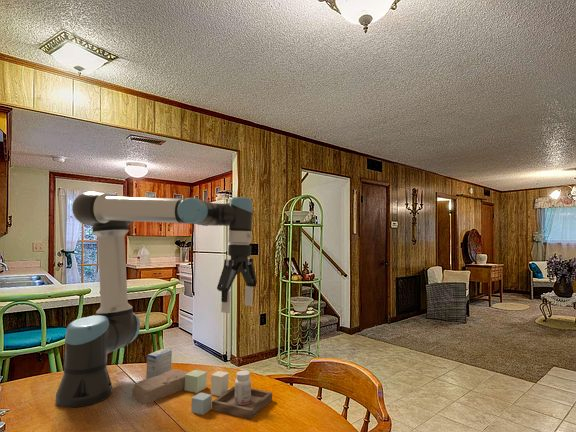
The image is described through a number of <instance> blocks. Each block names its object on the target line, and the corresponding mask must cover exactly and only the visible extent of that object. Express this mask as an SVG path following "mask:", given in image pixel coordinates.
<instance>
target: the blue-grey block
mask: <svg viewBox="0 0 576 432" xmlns="http://www.w3.org/2000/svg"><path fill="white" fill-rule="evenodd" d="M212 396H213V395H211V393H209V394H208V393H205V392H201V391H200V392H198V393H196V395H194V396H192V397H191V408H190V410H191V413H194V414H197V415H205V414H206V413H208V412H209V411H210V410H212V401H213V399H212V398H213V397H212Z"/></svg>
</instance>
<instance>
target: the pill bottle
mask: <svg viewBox="0 0 576 432" xmlns="http://www.w3.org/2000/svg"><path fill="white" fill-rule="evenodd" d="M250 373H251V372H250V371H249V370H239V371H237V372H236V376H235V378H236V379H235V381H234V386H235V403H236V404H238V405H246V404H249V403H250V401H251V388H252V380H251V378H250V377H251V374H250Z"/></svg>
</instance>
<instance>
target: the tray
mask: <svg viewBox="0 0 576 432" xmlns="http://www.w3.org/2000/svg"><path fill="white" fill-rule="evenodd" d="M272 401H273V392H271V391H267V390H262V389H259V388H253V387H251V401H250V403H249V404H246V405H238V404H236V403H235V385H234V386H232V387H231V388H229V389H228V391H227V392H225V393H224V394H222V395H221V396H217V397H216V398H215V399H214V400H213V399H212V404H211V410H212V411H216V412H220V413H224V414H228V415H233V416H237V417H241V418H244V419H248V420H252V419H254V417H256V416H257V415H258V414H259V413H261V411H262V410H264V408H266V406H268V405H269V404H270V403H271V402H272Z"/></svg>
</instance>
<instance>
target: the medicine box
mask: <svg viewBox="0 0 576 432" xmlns="http://www.w3.org/2000/svg"><path fill="white" fill-rule="evenodd" d="M172 355H173V351H172V349H167V348H161V349H159V350H156V351H153V352H152V353H148V354H147V356H146V372H145V373H146V374H145V376H146V378H145V379H148V378H152V377H155V376H158V375H161V374H163V373H165V372H167V371H170V370H172Z"/></svg>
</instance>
